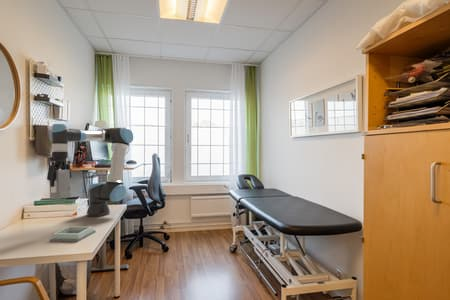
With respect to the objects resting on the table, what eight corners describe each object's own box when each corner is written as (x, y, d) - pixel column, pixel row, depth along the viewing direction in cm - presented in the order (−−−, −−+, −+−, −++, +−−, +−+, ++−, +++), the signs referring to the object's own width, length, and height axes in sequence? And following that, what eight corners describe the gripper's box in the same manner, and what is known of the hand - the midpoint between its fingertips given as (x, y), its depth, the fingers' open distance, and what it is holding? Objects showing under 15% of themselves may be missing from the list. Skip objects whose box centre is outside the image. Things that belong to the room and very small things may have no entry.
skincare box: (59, 199, 141) (58, 170, 141) (48, 198, 143) (47, 170, 143) (71, 196, 150) (70, 169, 149) (61, 195, 151) (60, 168, 151)
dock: (70, 231, 148) (70, 225, 148) (95, 232, 147) (95, 225, 147) (49, 241, 132) (49, 234, 132) (77, 242, 131) (77, 235, 131)
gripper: (67, 151, 157) (67, 188, 157) (38, 151, 136) (38, 194, 136) (78, 151, 156) (78, 188, 156) (51, 151, 135) (51, 194, 135)
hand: (59, 191), depth 146 cm, fingers closed on skincare box, 8 cm apart
